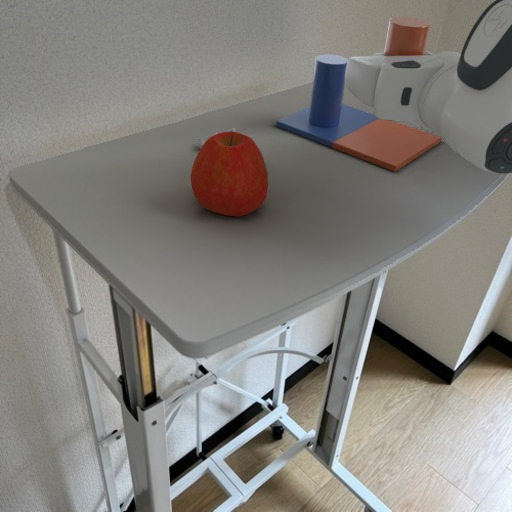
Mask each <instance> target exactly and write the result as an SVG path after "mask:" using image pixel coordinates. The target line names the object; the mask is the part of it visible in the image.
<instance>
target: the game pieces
mask: <svg viewBox="0 0 512 512" xmlns="http://www.w3.org/2000/svg"><path fill="white" fill-rule="evenodd" d="M230 131H231V132H237V133H238V131H237V129H236V128H234V127H232V128H230V130H229V132H230ZM218 133H219V132H215V133H214V134H213V135H216V134H218ZM204 143H205V141H204V140H202V139H201V138H198V140H196V147H197V148H199V150H200V149H201V147H202V146H203V144H204Z"/></svg>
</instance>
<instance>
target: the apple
mask: <svg viewBox="0 0 512 512" xmlns="http://www.w3.org/2000/svg"><path fill="white" fill-rule="evenodd" d="M217 133H218V134H216V133H215V134H216V135H214V134H213V135H211V136H209V137H208V138H207V139H206V141H204V144H203V146H202V147H201V149H200V148H199V150H198V152H197V154H196V156H195V158H194V161H193V163H192V166H191V170H190V175H189V177H190V187H191V190H192V192H193V195H194V197H195V199H196V200H197V202H198V204H199V205H201V207H202V208H204V209H206V210H209V211H210V212H213V213H215V214H220V215H224V216H229V217H241V216H247V215H249V214H250V213H253V212H255V211H256V210H257V209H259V208H260V207H261V206H262V205H263V204H264V202H265V200H266V198H267V196H268V191H269V174H268V173H269V172H268V169H267V166H266V161H265V159H264V155H263V153H262V151H261V150H260V148H259V146H258V145H257V143H256V142H255V141H254V139H253V138H252V137H250V136H249V135H246V134H243V133H240V132H238V131H237V132H231V131H230V130H229V131H223V132H217Z"/></svg>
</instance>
